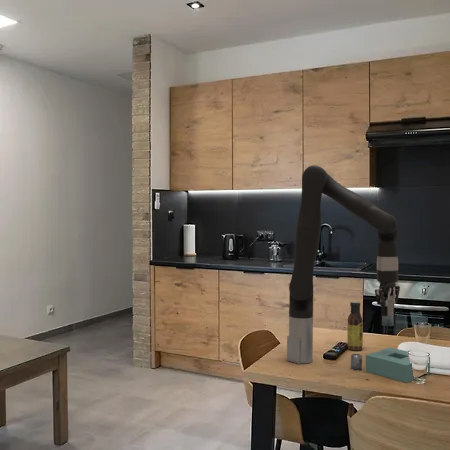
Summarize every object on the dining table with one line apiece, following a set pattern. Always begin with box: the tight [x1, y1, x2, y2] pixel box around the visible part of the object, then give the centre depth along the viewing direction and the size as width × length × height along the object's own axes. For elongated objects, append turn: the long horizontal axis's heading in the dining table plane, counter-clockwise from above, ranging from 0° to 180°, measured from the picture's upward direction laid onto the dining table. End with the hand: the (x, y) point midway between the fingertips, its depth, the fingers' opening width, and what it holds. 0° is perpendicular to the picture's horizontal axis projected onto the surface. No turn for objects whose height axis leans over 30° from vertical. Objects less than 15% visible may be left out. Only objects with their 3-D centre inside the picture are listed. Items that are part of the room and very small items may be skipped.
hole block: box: [365, 347, 431, 384], centre depth 183 cm, size 16×16×6 cm
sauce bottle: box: [347, 300, 364, 352], centre depth 214 cm, size 7×6×20 cm
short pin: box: [350, 353, 363, 371], centre depth 187 cm, size 4×4×5 cm
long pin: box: [381, 295, 394, 327], centre depth 187 cm, size 4×4×11 cm
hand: (387, 314), depth 187 cm, fingers closed on long pin, 4 cm apart
